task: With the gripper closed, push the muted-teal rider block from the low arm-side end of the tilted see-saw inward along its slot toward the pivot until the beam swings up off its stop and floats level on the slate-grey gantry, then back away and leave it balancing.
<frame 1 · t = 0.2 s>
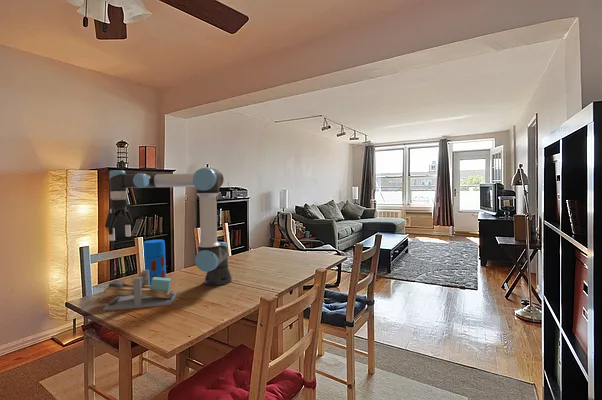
hand: (120, 238, 174), 28 cm above the table, fingers open, 13 cm apart
beam: (140, 283, 155), point 9 cm above the table, hinge at -10.0°, touching rider
rider: (159, 290, 157), point 5 cm above the table, tilted 10°, touching beam
thermos: (156, 285, 182), on the table
stand: (142, 301, 155), on the table
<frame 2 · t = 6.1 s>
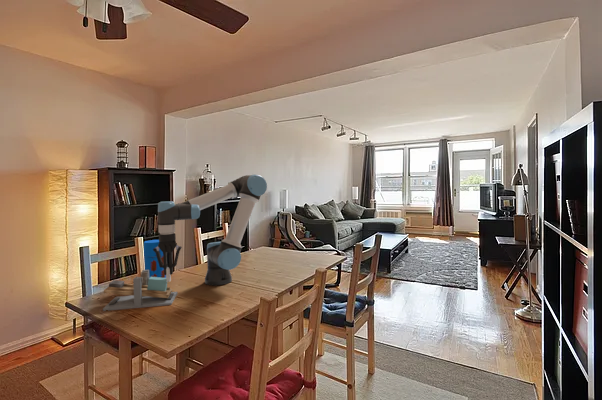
hand: (168, 281, 157), 9 cm above the table, fingers closed
beam: (140, 283, 155), point 9 cm above the table, hinge at -10.0°
rider: (156, 290, 156), point 5 cm above the table, tilted 10°, touching gripper
everything else where it was.
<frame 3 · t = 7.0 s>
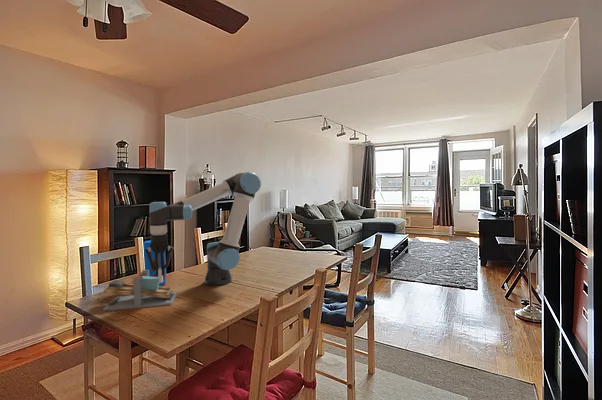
hand: (160, 281, 157), 9 cm above the table, fingers closed
beam: (140, 283, 155), point 9 cm above the table, hinge at -10.0°, touching rider
rider: (148, 290, 156), point 5 cm above the table, tilted 10°, touching beam, gripper
everything else where it was.
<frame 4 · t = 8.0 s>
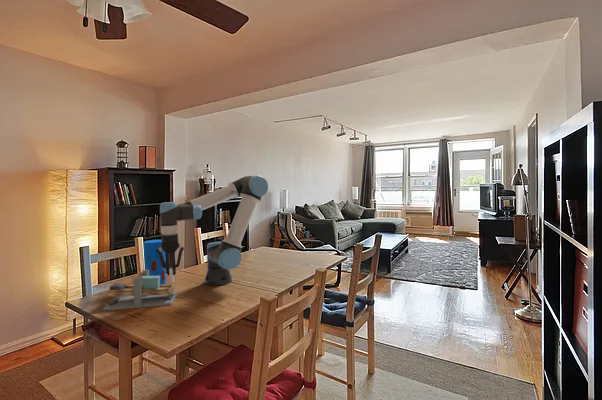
hand: (172, 281, 158), 9 cm above the table, fingers closed
beam: (141, 283, 155), point 9 cm above the table, hinge at -3.6°, touching rider
rider: (150, 289, 156), point 6 cm above the table, touching beam
everything else where it was.
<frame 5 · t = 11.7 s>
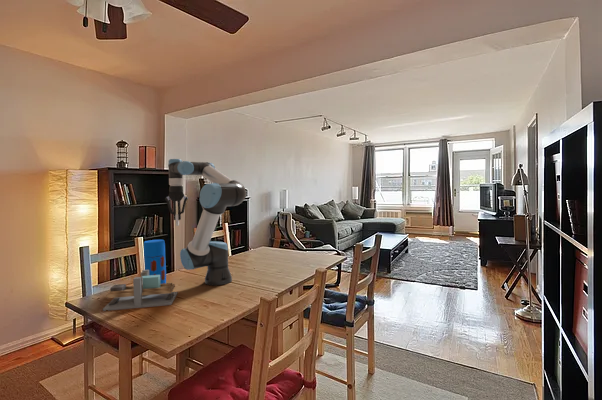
hand: (177, 225, 190), 32 cm above the table, fingers closed
beam: (141, 283, 155), point 9 cm above the table, hinge at -0.2°, touching rider
everything else where it was.
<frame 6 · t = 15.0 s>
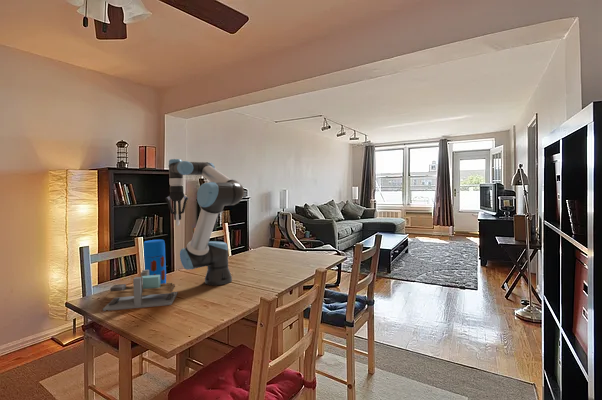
hand: (177, 225, 191), 32 cm above the table, fingers closed
nothing on the table moved.
at the end: beam at +0° (first picture: -10°); rider inside the target area under the beam (1.4 cm from its centre), point -6.0 cm above the beam's base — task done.
